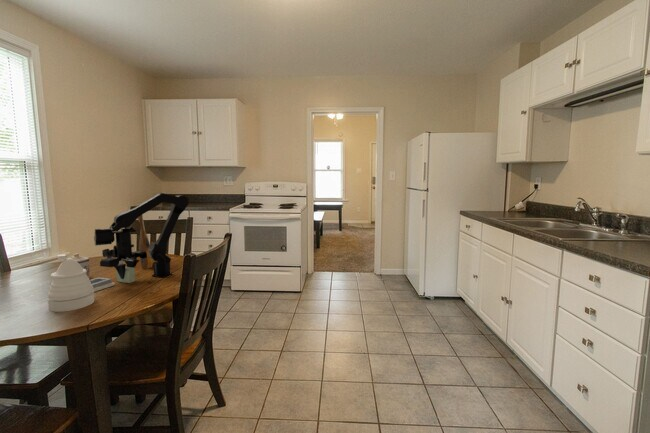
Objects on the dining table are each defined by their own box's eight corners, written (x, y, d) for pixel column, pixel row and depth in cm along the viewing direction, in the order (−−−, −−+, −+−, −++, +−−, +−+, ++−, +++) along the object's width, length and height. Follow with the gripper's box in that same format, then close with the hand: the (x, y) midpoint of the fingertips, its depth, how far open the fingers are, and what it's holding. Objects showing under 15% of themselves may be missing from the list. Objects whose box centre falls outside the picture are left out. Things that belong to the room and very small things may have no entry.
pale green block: (135, 280, 142) (134, 267, 142) (129, 283, 139) (128, 269, 139) (122, 279, 144) (122, 266, 144) (116, 281, 141) (115, 268, 141)
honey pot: (42, 313, 107) (37, 260, 105) (56, 300, 118) (52, 252, 116) (89, 308, 112) (85, 257, 110) (98, 296, 124) (95, 249, 122)
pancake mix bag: (137, 271, 158) (134, 214, 155) (138, 262, 175) (136, 210, 172) (153, 269, 161) (150, 213, 158) (152, 260, 178) (150, 210, 175)
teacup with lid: (87, 281, 141) (85, 255, 140) (61, 283, 138) (59, 256, 136) (94, 273, 152) (92, 249, 151) (70, 275, 149) (68, 251, 147)
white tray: (114, 284, 137) (114, 279, 136) (86, 294, 125) (86, 288, 125) (96, 282, 139) (96, 276, 139) (67, 291, 128) (67, 285, 128)
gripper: (127, 238, 151) (129, 270, 153) (88, 245, 133) (91, 282, 135) (146, 239, 148) (148, 272, 150) (109, 247, 130) (111, 284, 132)
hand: (125, 277), depth 142 cm, fingers closed on pale green block, 3 cm apart
